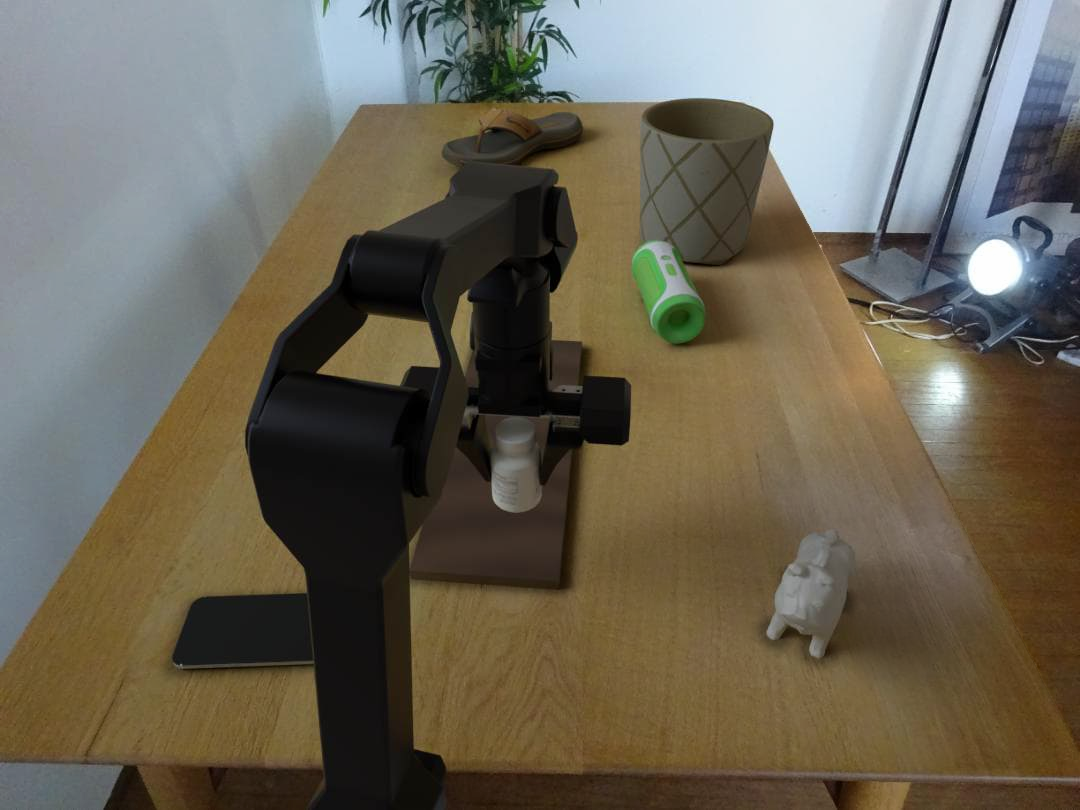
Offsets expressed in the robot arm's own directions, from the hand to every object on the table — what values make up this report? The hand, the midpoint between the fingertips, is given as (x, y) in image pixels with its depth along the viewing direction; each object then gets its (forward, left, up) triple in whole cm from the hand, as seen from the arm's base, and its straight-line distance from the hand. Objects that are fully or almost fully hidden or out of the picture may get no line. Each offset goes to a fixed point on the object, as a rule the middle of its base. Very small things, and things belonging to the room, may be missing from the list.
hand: (516, 480), depth 70 cm
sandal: (+105, +13, -11) cm, 107 cm away
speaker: (+47, -15, -11) cm, 51 cm away
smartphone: (-10, +21, -11) cm, 26 cm away
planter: (+69, -20, -11) cm, 73 cm away
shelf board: (+17, +3, -11) cm, 21 cm away
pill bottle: (0, 0, -2) cm, 2 cm away
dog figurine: (-5, -26, -11) cm, 29 cm away
